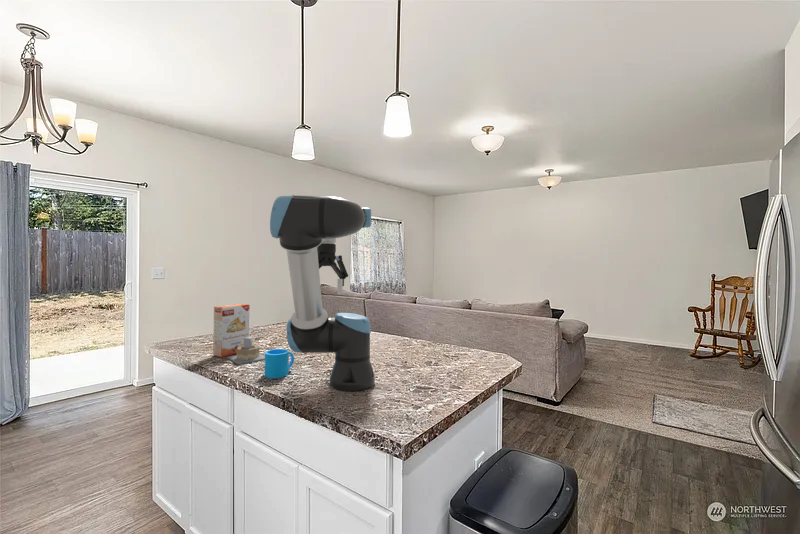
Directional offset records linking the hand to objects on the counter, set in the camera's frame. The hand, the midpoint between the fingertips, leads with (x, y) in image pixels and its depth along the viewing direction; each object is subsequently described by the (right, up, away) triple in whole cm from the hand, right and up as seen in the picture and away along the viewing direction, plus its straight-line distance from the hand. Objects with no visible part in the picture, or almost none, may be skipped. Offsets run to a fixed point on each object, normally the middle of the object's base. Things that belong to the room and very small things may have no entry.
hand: (325, 295), depth 152 cm
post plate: (-32, -26, +1) cm, 42 cm away
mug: (-13, -27, -17) cm, 34 cm away
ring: (-32, -26, +1) cm, 41 cm away
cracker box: (-43, -26, +9) cm, 51 cm away
